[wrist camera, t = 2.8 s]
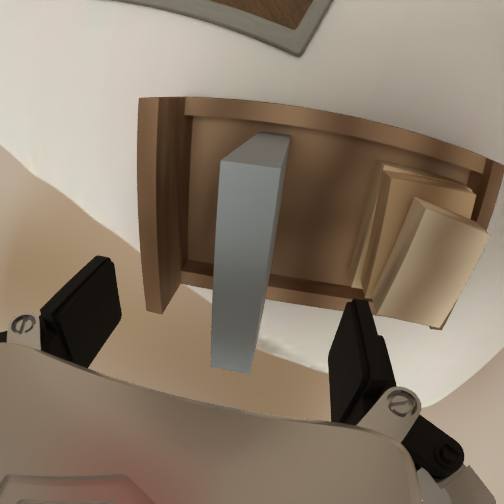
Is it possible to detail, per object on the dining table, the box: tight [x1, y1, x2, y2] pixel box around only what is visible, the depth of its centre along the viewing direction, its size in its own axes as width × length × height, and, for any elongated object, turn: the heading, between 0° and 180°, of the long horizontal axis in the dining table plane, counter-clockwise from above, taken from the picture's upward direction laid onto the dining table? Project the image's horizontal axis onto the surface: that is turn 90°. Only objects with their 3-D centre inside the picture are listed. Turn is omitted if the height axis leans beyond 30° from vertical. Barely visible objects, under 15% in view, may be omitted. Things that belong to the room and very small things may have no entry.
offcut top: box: [371, 197, 490, 328], centre depth 16 cm, size 5×7×2 cm
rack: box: [137, 97, 504, 330], centre depth 20 cm, size 23×14×7 cm, turn 84°
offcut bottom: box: [348, 159, 472, 289], centre depth 20 cm, size 7×9×2 cm
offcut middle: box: [360, 170, 476, 299], centre depth 18 cm, size 6×8×2 cm
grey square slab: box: [211, 131, 291, 374], centre depth 17 cm, size 2×10×11 cm, turn 174°
